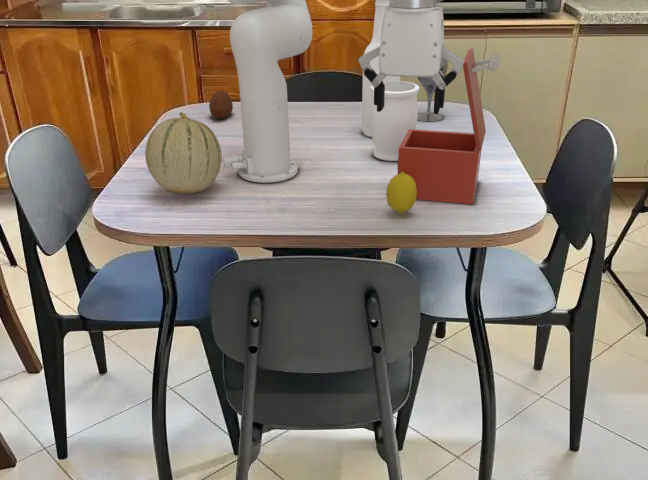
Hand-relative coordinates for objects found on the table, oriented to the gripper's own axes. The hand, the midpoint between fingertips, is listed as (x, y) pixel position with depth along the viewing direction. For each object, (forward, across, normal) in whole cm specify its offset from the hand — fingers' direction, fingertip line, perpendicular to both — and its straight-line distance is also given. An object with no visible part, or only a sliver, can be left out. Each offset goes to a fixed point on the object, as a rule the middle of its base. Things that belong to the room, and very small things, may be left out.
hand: (408, 110), depth 115 cm
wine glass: (+19, +4, -63) cm, 65 cm away
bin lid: (+1, -10, -14) cm, 17 cm away
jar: (+19, +8, -32) cm, 38 cm away
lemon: (+19, +1, 0) cm, 19 cm away
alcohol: (+19, +14, -47) cm, 52 cm away
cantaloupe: (+18, +44, -2) cm, 48 cm away
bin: (+19, -5, -14) cm, 24 cm away
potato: (+18, +57, -52) cm, 80 cm away
